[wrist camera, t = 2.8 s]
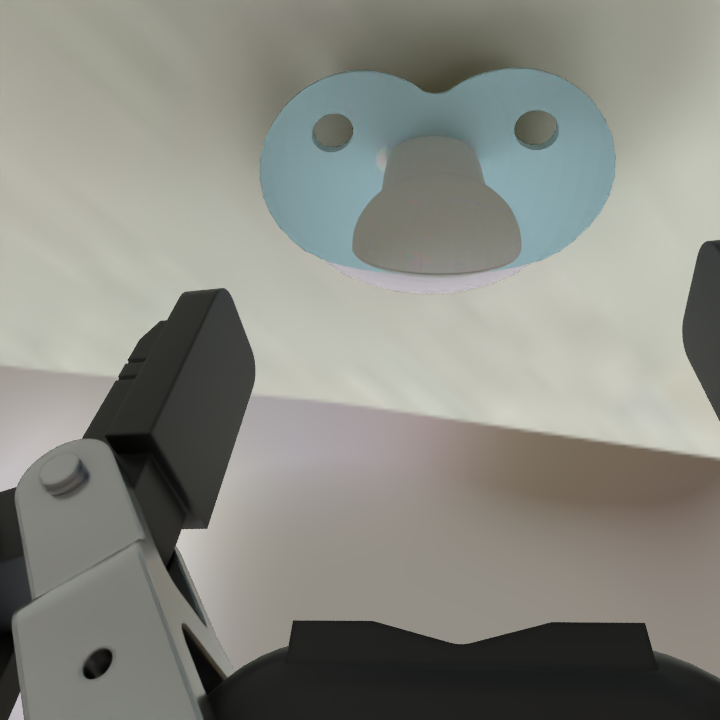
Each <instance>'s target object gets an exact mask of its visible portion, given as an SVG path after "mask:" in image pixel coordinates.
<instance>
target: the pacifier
mask: <svg viewBox="0 0 720 720" xmlns="http://www.w3.org/2000/svg"><path fill="white" fill-rule="evenodd" d="M532 110H541V111H545V112H547V113H549V114H551V115H552V116H553V117H554V118H555V119H556V131H555V133H554V135H553V136H552V137H551V139H550V140H548V141H546V142H545V143H542V144H539V145H530V144H526V143H524V142H522V141H520V140H519V139H518V138H517V137H516V135H515V133H514V127H515V124H516V121H517V120H518V119H519V117H520V116H522V115H523V114H524V113H526V112H529V111H532ZM328 114H341V115H344V116H345V117H346V118H348V119H349V121H350V122H351V124H352V127H353V134H352V136H351V138H350V139H349V140H348V141H347V142H346V143H344V144H343V145H341V146H338V147H327V146H324V145H322V144H321V143H319V142H318V140H317V139H316V138H315V134H314V125H315V124H316V122H317V121H318V120H319V119H320V118H322V117H323V116H325V115H328ZM615 160H616V156H615V151H614V145H613V138H612V135H611V133H610V130H609V128H608V125H607V123H606V120H605V118H604V116H603V115H602V114H601V112H600V111H599V109H598V108H597V107H596V105H595V104H594V103H593V101H592V100H591V99H590V98H589V97H588V96H587V95H586V94H585V93H584V92H583V91H581V90H580V89H579V88H577V87H576V86H575V85H573V84H572V83H570V82H568V81H567V80H565V79H563V78H561V77H559V76H557V75H554V74H552V73H549V72H546V71H542V70H539V69H535V68H518V67H507V68H502V69H497V70H491V71H486V72H484V73H481V74H478V75H476V76H473V77H470V78H468V79H465V80H464V81H462V82H461V83H459V84H457V85H456V86H454V87H452V88H451V89H449V90H447V91H444V92H439V93H431V92H426V91H423V90H422V89H420V88H419V87H418V86H416V85H414V84H413V83H411V82H410V81H408V80H406V79H403V78H400V77H398V76H395V75H392V74H389V73H384V72H378V71H372V70H353V71H343V72H340V73H337V74H333V75H330V76H327V77H325V78H322V79H320V80H318V81H316V82H314V83H313V84H311V85H309V86H308V87H306V88H305V89H304V90H302V91H301V92H299V93H298V94H297V95H296V96H295V97H293V98H292V99H291V100H290V101H289V102H288V103H287V104H286V106H285V107H284V108H283V110H282V111H281V112H280V114H279V115H278V117H277V118H276V119H275V121H274V122H273V124H272V126H271V128H270V130H269V133H268V135H267V137H266V139H265V141H264V146H263V150H262V155H261V159H260V182H261V187H262V192H263V197H264V200H265V202H266V205H267V207H268V209H269V212H270V214H271V215H272V216H273V218H274V219H275V221H276V223H277V224H278V226H279V227H280V228H281V229H282V230H283V231H284V232H285V233H286V234H287V235H288V236H289V238H290V239H291V240H292V241H294V242H295V243H296V244H297V245H298V246H300V247H301V248H302V249H303V250H304V251H307V252H309V253H311V254H313V255H315V256H317V257H319V258H320V259H323V260H325V261H326V262H328V263H329V264H330V265H332V266H333V267H335V268H336V269H338V270H339V271H340V272H342V273H343V274H345V275H347V276H349V277H352V278H354V279H356V280H359V281H361V282H363V283H366V284H368V285H372V286H376V287H380V288H384V289H389V290H393V291H397V292H410V293H422V294H432V293H448V292H459V291H464V290H468V289H473V288H478V287H482V286H487V285H489V284H492V283H494V282H497V281H499V280H502V279H504V278H507V277H509V276H512V275H514V274H515V273H517V272H518V271H520V270H521V269H523V268H525V267H526V266H528V265H529V264H531V263H533V262H537V261H541V260H543V259H545V258H547V257H549V256H551V255H553V254H555V253H557V252H560V251H561V250H562V249H564V248H565V247H566V246H567V245H569V244H570V243H571V242H573V241H574V240H575V239H576V238H577V237H578V236H579V235H580V234H581V233H582V232H583V231H585V230H586V229H587V228H588V227H589V226H590V225H591V223H592V222H593V221H594V219H595V218H596V217H597V215H598V214H599V213H600V212H601V210H602V208H603V206H604V204H605V202H606V200H607V199H608V197H609V194H610V191H611V187H612V183H613V180H614V177H615Z"/></svg>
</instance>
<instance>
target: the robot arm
mask: <svg viewBox="0 0 720 720" xmlns="http://www.w3.org/2000/svg"><path fill="white" fill-rule="evenodd" d="M682 333H683V343H684V348H685V352H686V355H687V357H688V359H689V361H690V363H691V365H692V367H693V369H694V371H695V373H696V375H697V377H698V379H699V381H700V383H701V385H702V387H703V389H704V391H705V393H706V395H707V397H708V399H709V401H710V403H711V405H712V407H713V409H714V411H715V413H716V415H717V417H718V419H719V421H720V240H715V241H707V242H705V243H704V244H703V245H702V246H701V248H700V250H699V253H698V256H697V261H696V265H695V269H694V274H693V278H692V283H691V287H690V292H689V296H688V301H687V305H686V310H685V314H684V319H683V329H682ZM128 361H129V363H128V364H125V366H124V368H123V369H122V371H121V373H120V374H119V376H118V377H119V380H118V381H115V383H114V385H113V387H112V388H111V390H110V392H109V393H108V395H107V397H106V398H105V400H104V402H103V404H102V405H101V407H100V409H99V411H98V412H97V414H96V416H95V417H94V419H93V421H92V422H91V424H90V426H89V428H88V429H87V431H86V433H85V434H84V436H83V438H82V439H79V440H74V441H71V442H68V443H65V444H62V445H60V446H58V447H56V448H54V449H52V450H50V451H49V452H47V453H46V454H44V455H43V456H42V457H40V458H39V459H38V460H37V461H35V462H34V463H33V464H32V465H31V466H30V467H29V468H28V469H27V471H26V472H25V473H24V475H23V476H22V478H21V479H20V481H19V483H18V485H17V487H15V488H12V489H9V490H6V491H2V492H0V720H8V719H9V716H10V714H11V712H12V709H13V707H14V705H15V702H16V700H17V698H18V695H19V693H20V692H21V699H22V706H23V714H24V720H720V679H719V678H718V677H716V676H714V675H712V674H710V673H708V672H706V671H704V670H702V669H700V668H698V667H696V666H694V665H692V664H690V663H687V662H685V661H682V660H679V659H677V658H674V657H672V656H669V655H666V654H663V653H659V652H656V651H653V650H652V647H651V643H650V640H649V636H648V632H647V629H646V625H645V623H570V622H568V623H565V622H562V623H561V622H551V623H547V624H543V625H540V626H536V627H532V628H528V629H524V630H520V631H516V632H512V633H509V634H505V635H501V636H497V637H493V638H489V639H485V640H481V641H478V642H474V643H470V644H453V643H449V642H445V641H442V640H438V639H435V638H431V637H427V636H424V635H420V634H417V633H413V632H410V631H406V630H403V629H399V628H395V627H392V626H388V625H385V624H381V623H378V622H374V621H293V624H292V630H291V636H290V642H289V646H287V647H284V648H280V649H278V650H275V651H273V652H270V653H268V654H265V655H263V656H261V657H259V658H257V659H255V660H254V661H252V662H250V663H248V664H247V665H245V666H243V667H242V668H240V669H239V670H237V671H235V669H234V667H233V665H232V664H231V662H230V660H229V658H228V657H227V655H226V653H225V651H224V650H223V648H222V646H221V644H220V642H219V640H218V638H217V636H216V633H215V631H214V629H213V627H212V624H211V622H210V620H209V617H208V615H207V613H206V611H205V608H204V606H203V604H202V601H201V599H200V597H199V595H198V592H197V590H196V588H195V585H194V583H193V581H192V578H191V576H190V574H189V571H188V569H187V567H186V565H185V562H184V560H183V558H182V555H181V553H180V552H179V550H178V549H177V547H176V543H177V540H178V537H179V535H180V532H181V529H207V527H208V524H209V521H210V518H211V515H212V512H213V509H214V506H215V503H216V500H217V497H218V493H219V490H220V487H221V484H222V481H223V478H224V475H225V472H226V469H227V466H228V462H229V459H230V457H231V453H232V450H233V447H234V444H235V441H236V438H237V435H238V432H239V429H240V426H241V423H242V419H243V416H244V413H245V410H246V407H247V404H248V401H249V398H250V395H251V392H252V389H253V386H254V381H255V361H254V356H253V352H252V349H251V347H250V344H249V341H248V339H247V336H246V333H245V331H244V328H243V325H242V323H241V320H240V317H239V315H238V312H237V309H236V307H235V304H234V302H233V299H232V297H231V295H230V293H229V292H228V291H227V290H226V289H224V288H220V289H210V290H200V291H190V292H184V293H183V294H182V295H181V296H180V298H179V300H178V301H177V303H176V305H175V307H174V309H173V311H172V312H171V314H170V316H169V318H168V320H166V321H160V322H159V323H158V324H157V325H155V326H154V327H153V328H152V329H151V330H150V331H149V332H148V333H147V334H145V335H144V336H143V337H142V338H141V339H140V340H139V342H138V344H137V345H136V347H135V349H134V350H133V352H132V354H131V356H130V357H129V359H128Z"/></svg>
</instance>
